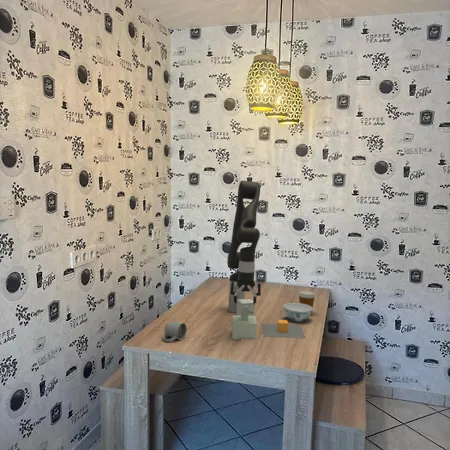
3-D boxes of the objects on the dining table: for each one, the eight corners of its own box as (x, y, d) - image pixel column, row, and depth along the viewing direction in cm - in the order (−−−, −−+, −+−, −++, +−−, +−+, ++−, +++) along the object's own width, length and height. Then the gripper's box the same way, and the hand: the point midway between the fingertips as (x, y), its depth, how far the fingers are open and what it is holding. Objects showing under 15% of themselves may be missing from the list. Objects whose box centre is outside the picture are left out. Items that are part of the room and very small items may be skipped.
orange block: (278, 332, 210) (278, 323, 209) (277, 328, 214) (277, 319, 214) (287, 332, 210) (288, 323, 209) (286, 329, 214) (286, 320, 214)
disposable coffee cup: (314, 316, 238) (315, 295, 237) (296, 315, 240) (298, 293, 239) (314, 311, 247) (315, 291, 246) (297, 309, 249) (298, 289, 248)
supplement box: (240, 327, 216) (241, 303, 215) (235, 322, 224) (236, 298, 222) (254, 326, 218) (255, 302, 217) (249, 322, 226) (250, 298, 224)
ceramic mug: (172, 333, 206) (172, 317, 205) (186, 336, 202) (187, 321, 201) (158, 340, 196) (159, 324, 195) (173, 344, 192) (173, 328, 191)
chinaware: (301, 315, 239) (302, 301, 239) (317, 324, 226) (318, 310, 225) (277, 317, 234) (278, 303, 233) (291, 327, 220) (292, 312, 219)
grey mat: (263, 338, 203) (263, 336, 203) (260, 325, 221) (260, 323, 221) (306, 340, 203) (306, 338, 203) (299, 326, 221) (299, 325, 221)
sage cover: (232, 339, 201) (233, 310, 199) (232, 330, 212) (233, 303, 210) (256, 340, 201) (257, 311, 199) (254, 331, 212) (256, 303, 210)
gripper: (231, 271, 199) (229, 305, 201) (262, 272, 199) (260, 306, 201) (231, 267, 206) (229, 300, 208) (261, 268, 206) (259, 301, 208)
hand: (244, 303), depth 204 cm, fingers open, 8 cm apart
